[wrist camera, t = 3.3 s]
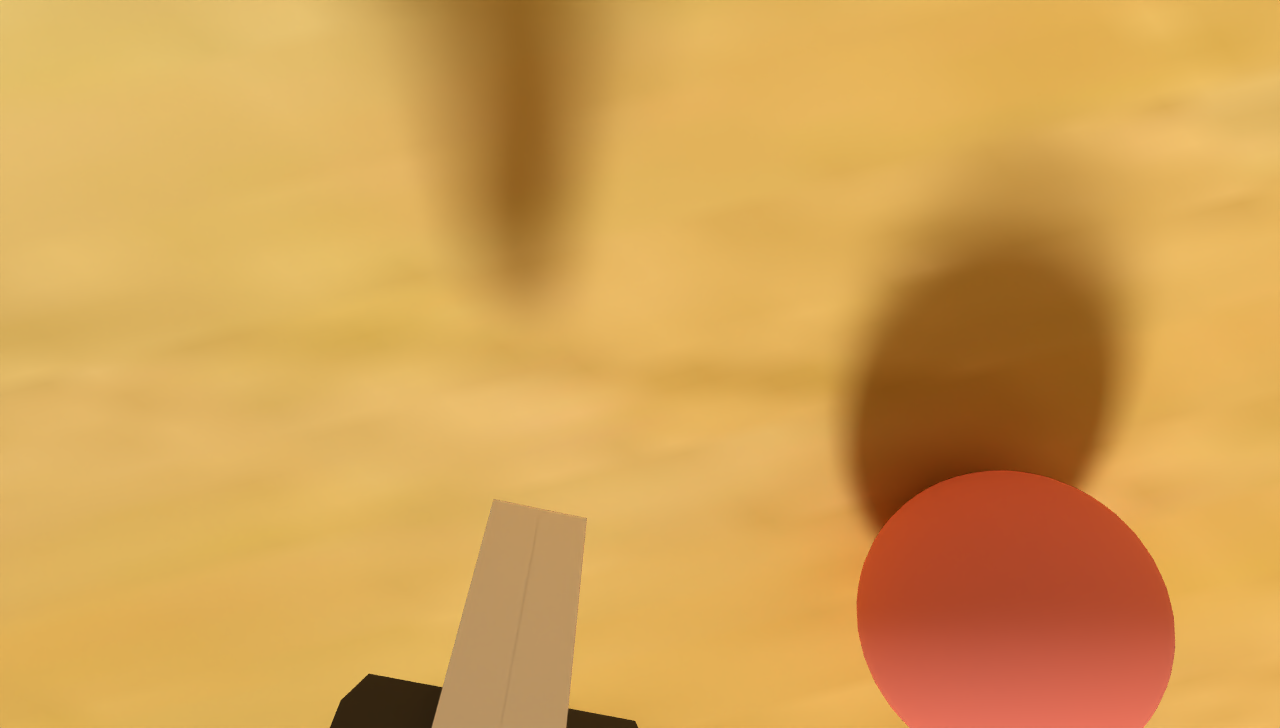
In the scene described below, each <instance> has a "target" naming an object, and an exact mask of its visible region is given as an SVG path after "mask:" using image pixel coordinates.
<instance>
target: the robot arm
mask: <svg viewBox="0 0 1280 728" xmlns="http://www.w3.org/2000/svg"><path fill="white" fill-rule="evenodd" d="M586 521H587V518H583V517H578V516H573V515H568V514H563V513H558V512H554V511H549V510H544V509H539V508H534V507H529V506H525V505H520V504H515V503H510V502H505V501H500V500H496V499H494V500H493V504H492V507H491V511H490V515H489V518H488V522H487V526H486V529H485V533H484V537H483V540H482V544H481V548H480V552H479V555H478V559H477V563H476V566H475V570H474V574H473V577H472V581H471V585H470V588H469V592H468V596H467V599H466V603H465V607H464V610H463V614H462V618H461V622H460V625H459V629H458V633H457V636H456V640H455V644H454V647H453V651H452V655H451V658H450V662H449V666H448V669H447V673H446V677H445V681H444V684H443V687H437V686H432V685H427V684H421V683H416V682H410V681H405V680H400V679H394V678H389V677H384V676H378V675H373V674H368V675H367V676H366V677H365V678H364V679H363V680H362V681H361V682H360V683H359V684H358V685H357V686H356V687H354V688H353V689H352V690H351V691H350V692H349V693H348V694H347V695H346V696H345V697H344V698H343V699H342V700H341V701H340V704H339V706H338V709H337V711H336V714H335V716H334V719H333V721H332V724H331V726H330V728H638V726H637V724H636V722H635V721H632V720H627V719H622V718H616V717H611V716H606V715H600V714H595V713H590V712H584V711H579V710H574V709H568V705H569V694H570V684H571V674H572V664H573V654H574V643H575V633H576V623H577V613H578V603H579V592H580V582H581V572H582V562H583V551H584V541H585V531H586Z"/></svg>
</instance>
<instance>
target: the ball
mask: <svg viewBox="0 0 1280 728" xmlns="http://www.w3.org/2000/svg"><path fill="white" fill-rule="evenodd" d="M857 622H858V632H859V637H860V641H861V646H862V650H863V654H864V657H865V660H866V662H867V665H868V667H869V670H870V672H871V674H872V676H873V679H874V681H875V683H876V685H877V686H878V688H879V689H880V691H881V693H882V694H883V696H884V697H885V699H886V700H887V702H888V703H889V705H890V706H891V708H892V709H893V710H894V711H895V712H896V713H897V715H898V716H899V717H900V718H901V719H902V720H903V721H904V722H905V723H906V724H907V725H908V726H909V728H1143V727H1144V726H1145V725H1146V724H1147V722H1148V721H1149V720H1150V718H1151V717H1152V715H1153V714H1154V712H1155V711H1156V709H1157V707H1158V705H1159V703H1160V701H1161V699H1162V696H1163V694H1164V692H1165V690H1166V688H1167V685H1168V682H1169V678H1170V675H1171V671H1172V665H1173V659H1174V652H1175V632H1174V616H1173V612H1172V608H1171V603H1170V599H1169V595H1168V592H1167V588H1166V586H1165V583H1164V581H1163V579H1162V576H1161V574H1160V572H1159V570H1158V568H1157V566H1156V564H1155V562H1154V560H1153V558H1152V557H1151V555H1150V554H1149V552H1148V551H1147V549H1146V548H1145V546H1144V545H1143V544H1142V542H1141V541H1140V539H1139V538H1138V537H1137V535H1136V534H1135V533H1134V532H1133V531H1132V530H1131V529H1130V528H1129V527H1128V526H1127V525H1126V524H1125V523H1124V522H1123V521H1122V520H1121V519H1120V518H1119V517H1118V516H1117V515H1116V514H1115V513H1114V512H1112V511H1111V510H1110V509H1108V508H1107V507H1106V506H1105V505H1103V504H1102V503H1100V502H1099V501H1097V500H1096V499H1094V498H1093V497H1091V496H1090V495H1088V494H1086V493H1084V492H1082V491H1081V490H1079V489H1077V488H1075V487H1072V486H1070V485H1067V484H1065V483H1062V482H1060V481H1057V480H1055V479H1052V478H1049V477H1045V476H1041V475H1036V474H1032V473H1026V472H1018V471H1009V470H996V471H983V472H975V473H970V474H965V475H961V476H957V477H953V478H951V479H948V480H945V481H942V482H940V483H938V484H936V485H933V486H931V487H929V488H927V489H926V490H924V491H922V492H921V493H919V494H917V495H916V496H914V497H913V498H912V499H911V500H909V501H908V502H907V503H905V504H904V505H903V506H902V507H901V508H900V509H899V510H898V511H897V512H896V513H895V514H894V515H893V516H892V517H891V518H890V519H889V520H888V522H887V523H886V524H885V525H884V527H883V528H882V529H881V530H880V532H879V534H878V535H877V537H876V539H875V540H874V542H873V544H872V546H871V548H870V551H869V553H868V555H867V557H866V560H865V562H864V565H863V569H862V572H861V576H860V581H859V586H858V594H857Z"/></svg>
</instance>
